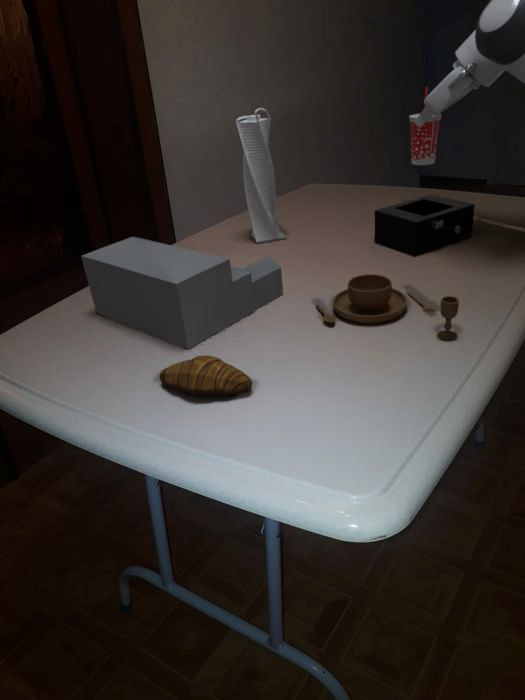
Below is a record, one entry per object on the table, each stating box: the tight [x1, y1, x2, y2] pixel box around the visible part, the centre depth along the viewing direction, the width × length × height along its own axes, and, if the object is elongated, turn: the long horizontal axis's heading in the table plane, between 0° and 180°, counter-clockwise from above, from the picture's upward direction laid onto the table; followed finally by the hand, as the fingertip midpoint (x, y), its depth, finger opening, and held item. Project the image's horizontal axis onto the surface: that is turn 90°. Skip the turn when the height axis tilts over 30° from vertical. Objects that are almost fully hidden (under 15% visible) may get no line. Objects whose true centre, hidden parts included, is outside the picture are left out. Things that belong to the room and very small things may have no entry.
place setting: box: [315, 273, 460, 342], centre depth 87 cm, size 18×20×6 cm
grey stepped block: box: [80, 236, 284, 350], centre depth 97 cm, size 25×23×11 cm
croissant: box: [159, 354, 253, 396], centre depth 74 cm, size 14×7×5 cm, turn 71°
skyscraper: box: [235, 107, 287, 245], centre depth 121 cm, size 8×8×28 cm
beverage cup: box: [408, 86, 442, 166], centre depth 109 cm, size 6×6×14 cm
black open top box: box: [374, 193, 476, 258], centre depth 115 cm, size 16×13×7 cm
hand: (422, 121), depth 109 cm, fingers closed on beverage cup, 6 cm apart
